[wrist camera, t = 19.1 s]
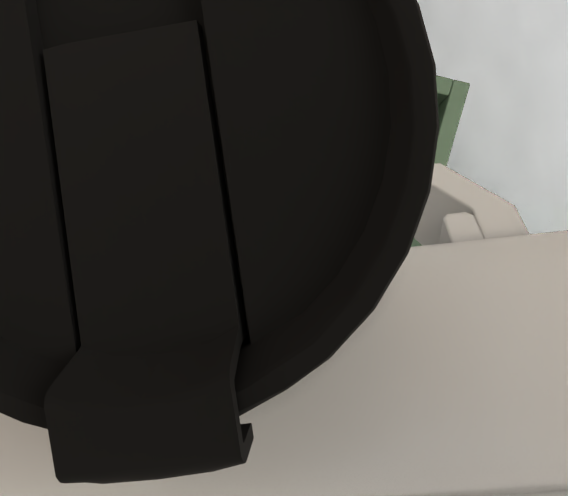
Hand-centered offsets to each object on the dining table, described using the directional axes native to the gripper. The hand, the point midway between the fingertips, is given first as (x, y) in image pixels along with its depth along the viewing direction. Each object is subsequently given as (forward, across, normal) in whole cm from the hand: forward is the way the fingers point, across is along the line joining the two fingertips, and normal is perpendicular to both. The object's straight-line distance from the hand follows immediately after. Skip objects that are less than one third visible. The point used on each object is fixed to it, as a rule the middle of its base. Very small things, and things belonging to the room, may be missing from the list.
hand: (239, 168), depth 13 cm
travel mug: (+8, 0, +8) cm, 11 cm away
